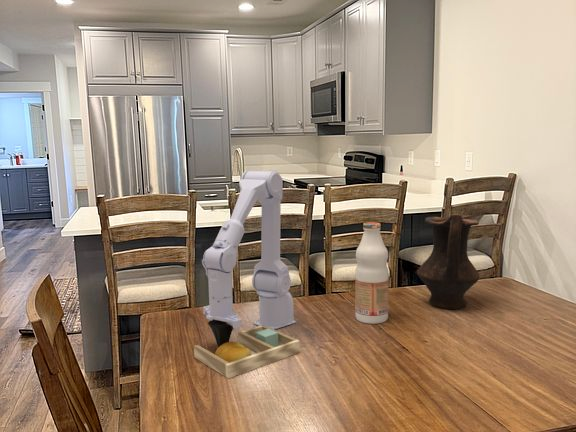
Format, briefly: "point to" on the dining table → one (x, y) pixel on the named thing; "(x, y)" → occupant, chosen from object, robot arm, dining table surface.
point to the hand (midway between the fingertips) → (223, 348)
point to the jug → (449, 262)
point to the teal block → (268, 337)
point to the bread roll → (232, 351)
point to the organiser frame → (262, 357)
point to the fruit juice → (371, 277)
